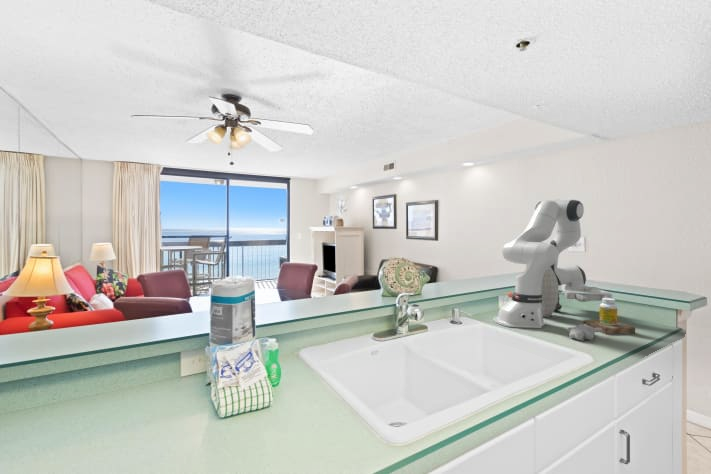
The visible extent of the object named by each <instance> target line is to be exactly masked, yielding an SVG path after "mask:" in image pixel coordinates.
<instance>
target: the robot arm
mask: <svg viewBox="0 0 711 474" xmlns="http://www.w3.org/2000/svg"><path fill="white" fill-rule="evenodd" d="M584 211H585V208H584V204H583V203H582V202H581V201H580V200H576V199H570V200H569V199H545V200H542V201H539V202H537V204H536V205H535V208H534V211H533V213H532V215H531V217H530V219H529V221H528V223H527V225H526V227H525V229H524V230H523V231H522V232H521V233H520V234H519V235H518V236H517V237H516V238H514V239H513V240H510V241H508V242H505V244H504V246H503V247H502V256H503V258H504V259H505V260H506V261H508V262H511V263H514V264H519V265H520V264H522V265H526V267H525V269H524V271H522V272H520V273H518V274H517V275H516V276H515V288H514V290H515V292H514V293H512V292H508V293H507V297H509V298H511V299H510V300H509V301H508V302H507V303H505V304H503V305H502V306H501V307H500V308H499V311H498V315H497V316H494V317H493V321H494V323H496V324H499V325H501V326H504V327H506V328H507V327H508V328H524V329H525V328H526V329H527V328H528V329H529V328H530V329H542V328H543V327H544V326H545V325H546V324H545V321H544V317H543V315H542V307H541V305H542V294H541V288H542V279H543V275H544V273H545V272H546V270H547V269H548V268H549V267H551V268H552V270H553V271H554V273H555V275H556V278H557V281H558V287H559V286H561V290H562V291H561V292H560V294H562V295H563V297H564V298H565V299H567V300H575V301H578V302H580V303H587V302H593V301H594V302H595V301H596V302H597V301H599V302H602V298H612V299H613V294H612V293H611V292H609V291H606V290H605V289H602V288H600V287H597V286H596V287H593V286H588V285H586V281H587V277H586V273H585V271H584V269H583V268H581V267H580V266H578V265H567V266H562V267H561V266H560V267H558V263H559V258H560V254H561V253H562V252H563V251H565V250H567V249H569V248H571V247H573V246H575V245H576V244H577V243H578V242H579V241H580V239H581V236H582V235H581V234H582V233H581V231H582V229H581V223H580V219H581V218H582V217H583V215H584ZM554 229H555V236H554V238H553V240H551V241H550V243H547V242H544V241H547V240H548V239H549V238H550V237H551V236H552V233H553V231H554Z"/></svg>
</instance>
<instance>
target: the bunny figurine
mask: <svg viewBox="0 0 711 474" xmlns="http://www.w3.org/2000/svg"><path fill="white" fill-rule="evenodd" d="M601 332H603V330H602V328H593V327H591V326H589V325H587V324H583V323H579V324H577V326H575V327H568V328H567V333H568V334H569V337H568V338H570V339H573V340H574V339H575V340H577V341H581V342H583V341H585V340H591V341H592V340H595V339H594V337H595V333H601Z"/></svg>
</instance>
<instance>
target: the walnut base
mask: <svg viewBox="0 0 711 474" xmlns="http://www.w3.org/2000/svg"><path fill="white" fill-rule="evenodd" d="M582 321H583V322H582V324H587V325H589V326H591V327H593V328H602V330H603V332H600V334H603V335H604V334H605V335H623V334H625V335H626V334H628V335H629V334H636V327H634V326H632V325H628V324H625V323H622V322H619V321H617V325H605V324H602V323H600V322H599V319H589V320H588V319H587V320H586V319H585V320H582Z"/></svg>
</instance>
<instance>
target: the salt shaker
mask: <svg viewBox="0 0 711 474" xmlns="http://www.w3.org/2000/svg"><path fill="white" fill-rule="evenodd" d="M560 299H561V298H560V292H559V291H558V302H557V305H556V308H555V310H554V312H553V313H555V314H561V313H562V311H561V309H562V308H563V305H562V304H560Z"/></svg>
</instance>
